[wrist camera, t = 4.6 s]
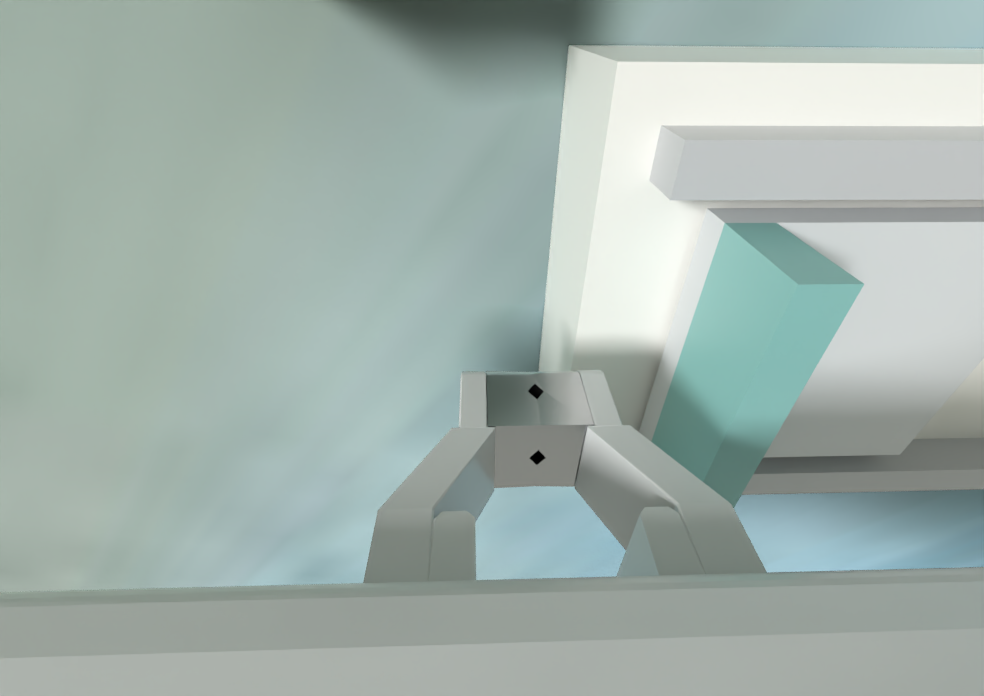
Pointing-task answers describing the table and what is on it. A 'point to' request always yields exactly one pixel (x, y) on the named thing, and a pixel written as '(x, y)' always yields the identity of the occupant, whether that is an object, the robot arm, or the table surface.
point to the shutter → (816, 335)
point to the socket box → (750, 205)
